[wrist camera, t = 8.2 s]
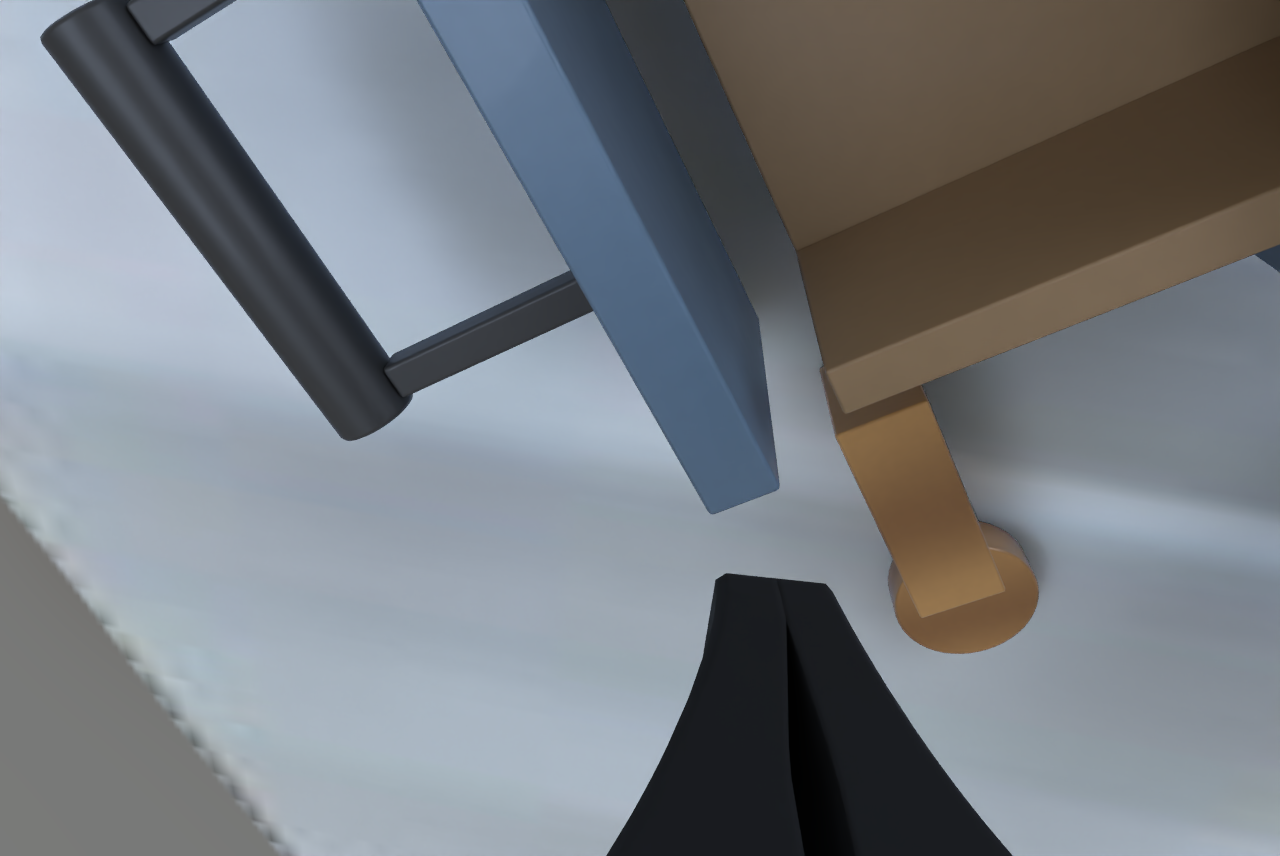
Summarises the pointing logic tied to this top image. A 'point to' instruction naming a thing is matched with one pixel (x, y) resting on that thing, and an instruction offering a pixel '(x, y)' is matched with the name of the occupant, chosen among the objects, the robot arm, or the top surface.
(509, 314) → the drawer
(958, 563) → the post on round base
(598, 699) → the top surface
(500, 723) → the top surface
